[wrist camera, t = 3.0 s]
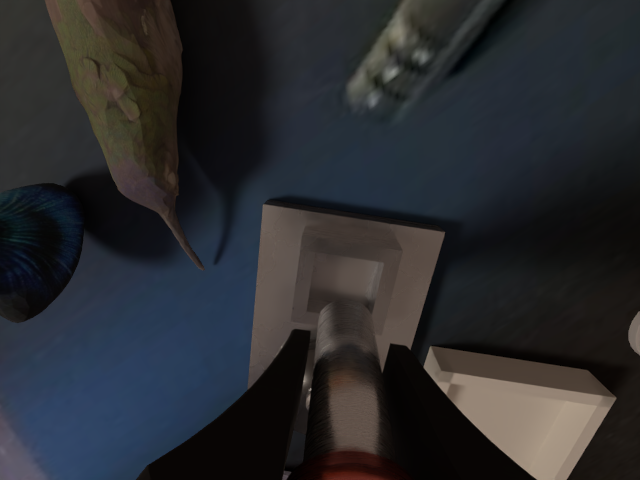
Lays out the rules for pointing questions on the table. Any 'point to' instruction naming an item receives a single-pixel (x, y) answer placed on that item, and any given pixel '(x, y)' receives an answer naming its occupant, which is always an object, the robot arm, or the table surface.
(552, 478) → the tray
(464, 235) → the table surface
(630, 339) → the sign
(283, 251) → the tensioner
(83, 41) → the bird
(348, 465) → the pin
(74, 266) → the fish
